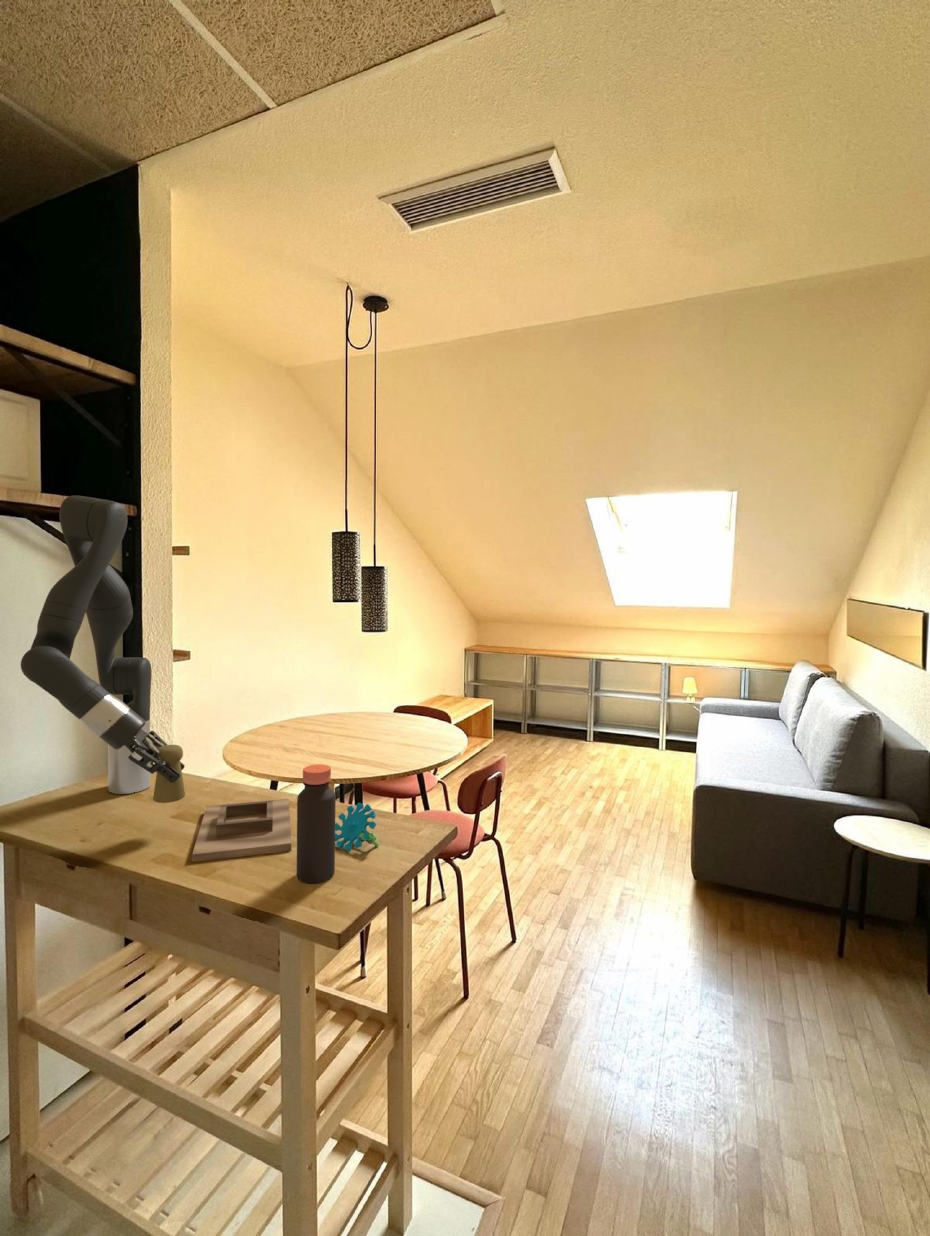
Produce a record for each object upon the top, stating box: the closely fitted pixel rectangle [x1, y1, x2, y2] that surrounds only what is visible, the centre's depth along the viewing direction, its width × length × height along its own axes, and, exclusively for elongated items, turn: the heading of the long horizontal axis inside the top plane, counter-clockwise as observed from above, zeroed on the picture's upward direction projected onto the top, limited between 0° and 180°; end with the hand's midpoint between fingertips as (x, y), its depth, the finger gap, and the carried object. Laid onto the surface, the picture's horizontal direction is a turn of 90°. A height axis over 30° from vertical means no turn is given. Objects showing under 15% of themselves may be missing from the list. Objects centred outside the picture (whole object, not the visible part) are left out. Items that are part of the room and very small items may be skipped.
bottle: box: [296, 763, 337, 885], centre depth 104 cm, size 7×7×20 cm
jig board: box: [191, 798, 292, 863], centre depth 122 cm, size 24×18×4 cm
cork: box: [152, 744, 186, 804], centre depth 120 cm, size 6×6×11 cm
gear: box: [335, 802, 380, 852], centre depth 118 cm, size 11×6×10 cm
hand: (179, 774), depth 120 cm, fingers closed on cork, 4 cm apart
